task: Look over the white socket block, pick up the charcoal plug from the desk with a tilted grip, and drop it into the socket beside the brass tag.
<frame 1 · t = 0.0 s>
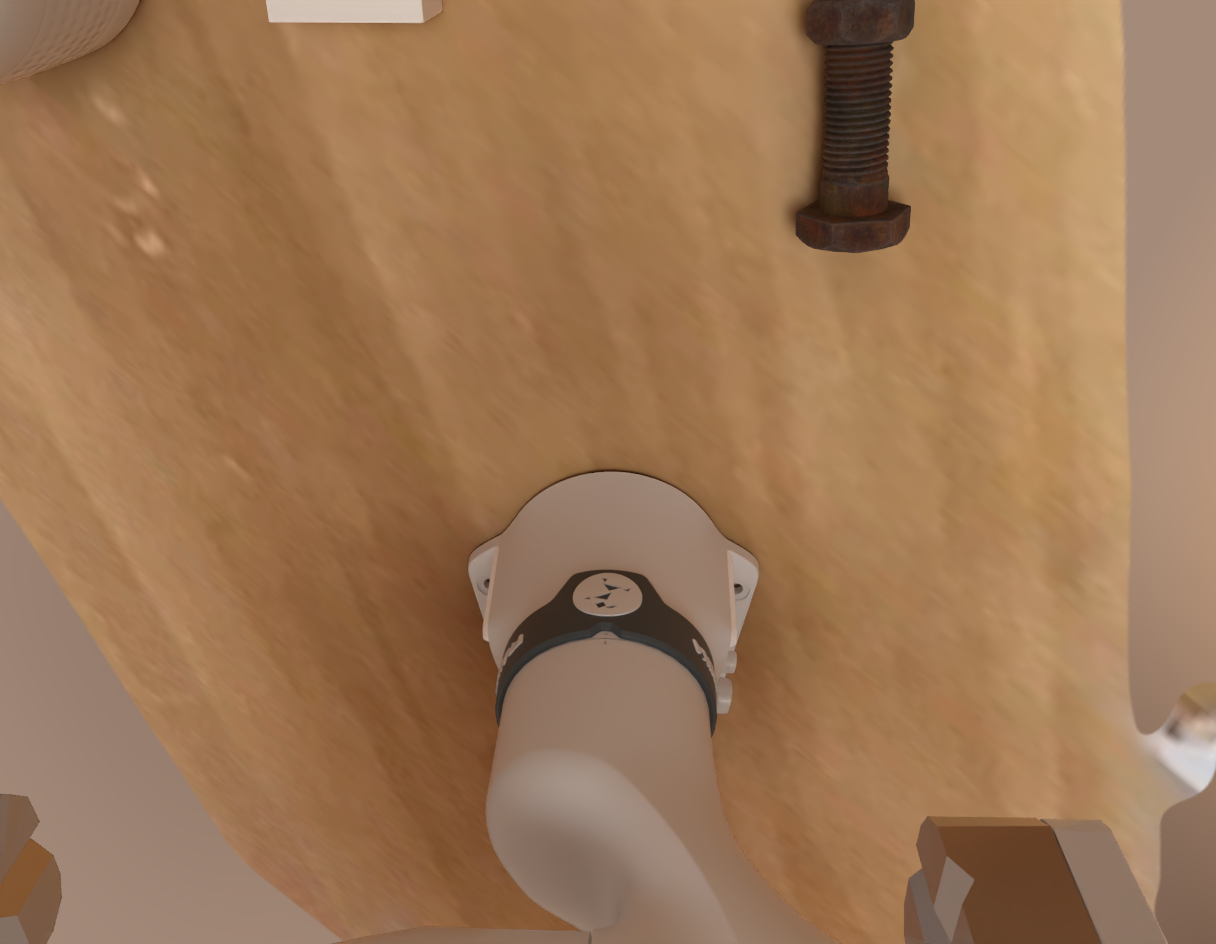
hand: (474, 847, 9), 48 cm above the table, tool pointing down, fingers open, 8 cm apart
bolt: (851, 77, 51), on the table
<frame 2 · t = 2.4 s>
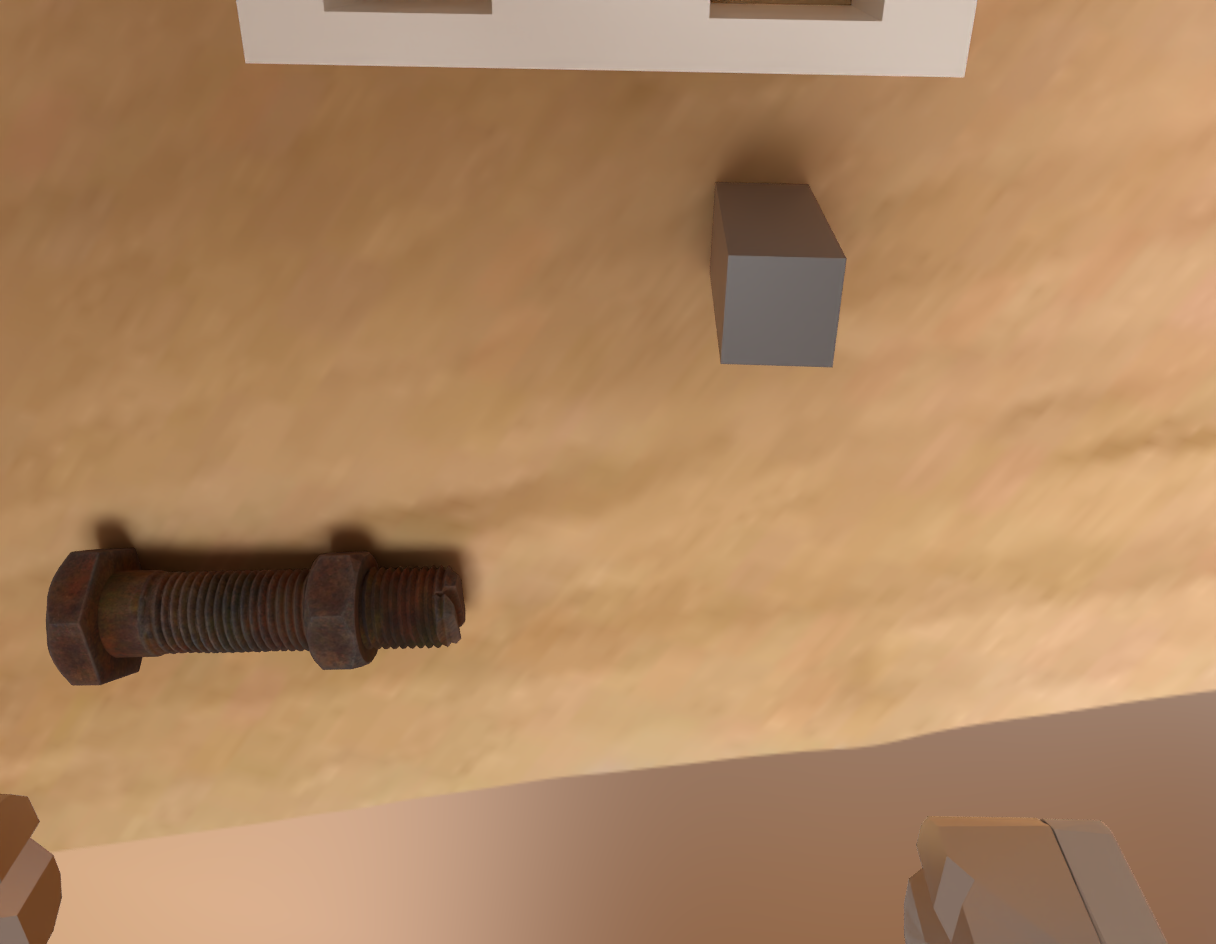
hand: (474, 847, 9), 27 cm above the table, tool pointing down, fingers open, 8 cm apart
bolt: (290, 576, 42), on the table
plug: (757, 229, 34), on the table
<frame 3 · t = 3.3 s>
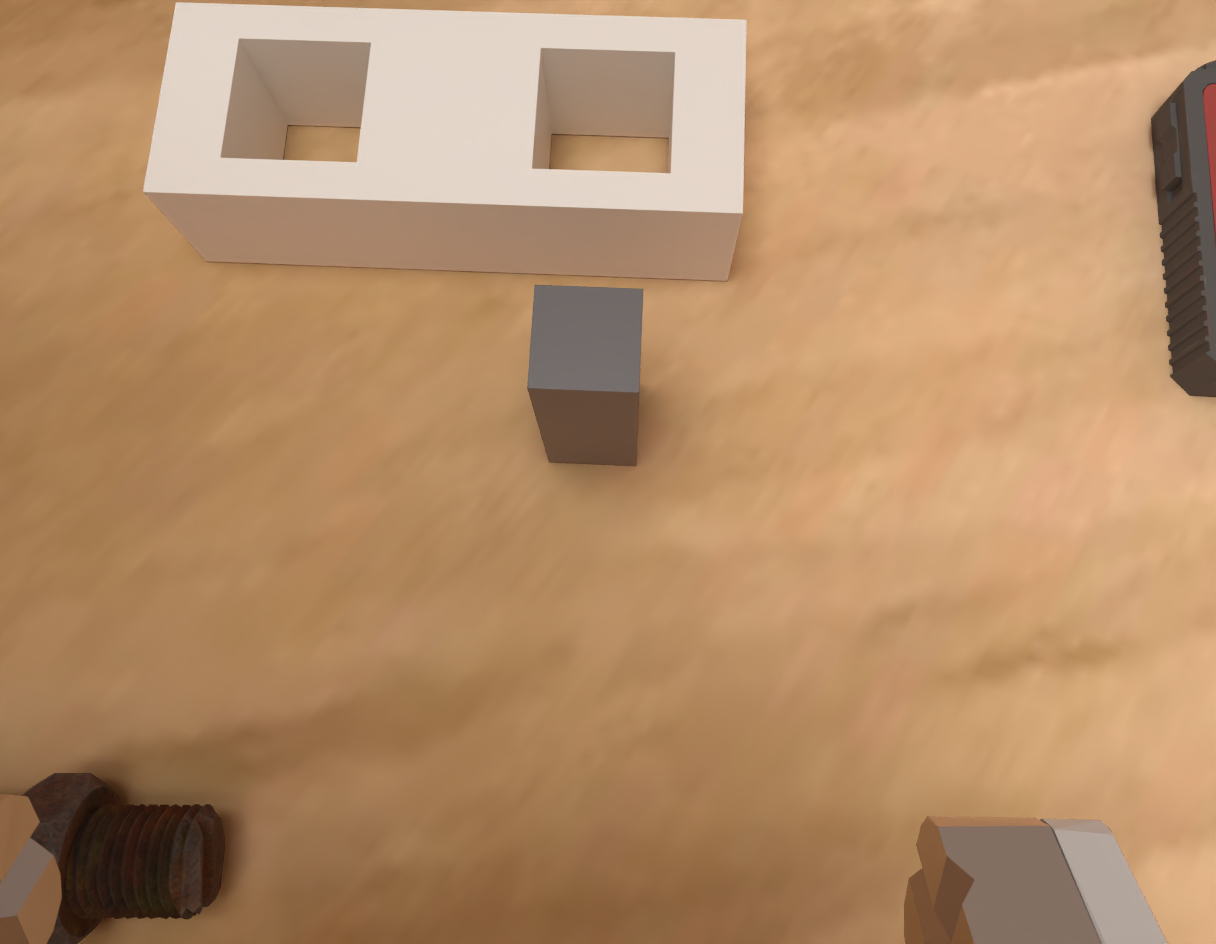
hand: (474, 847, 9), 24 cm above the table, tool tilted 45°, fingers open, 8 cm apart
bolt: (8, 853, 33), on the table
plug: (594, 422, 35), on the table
white socket block: (472, 184, 38), on the table
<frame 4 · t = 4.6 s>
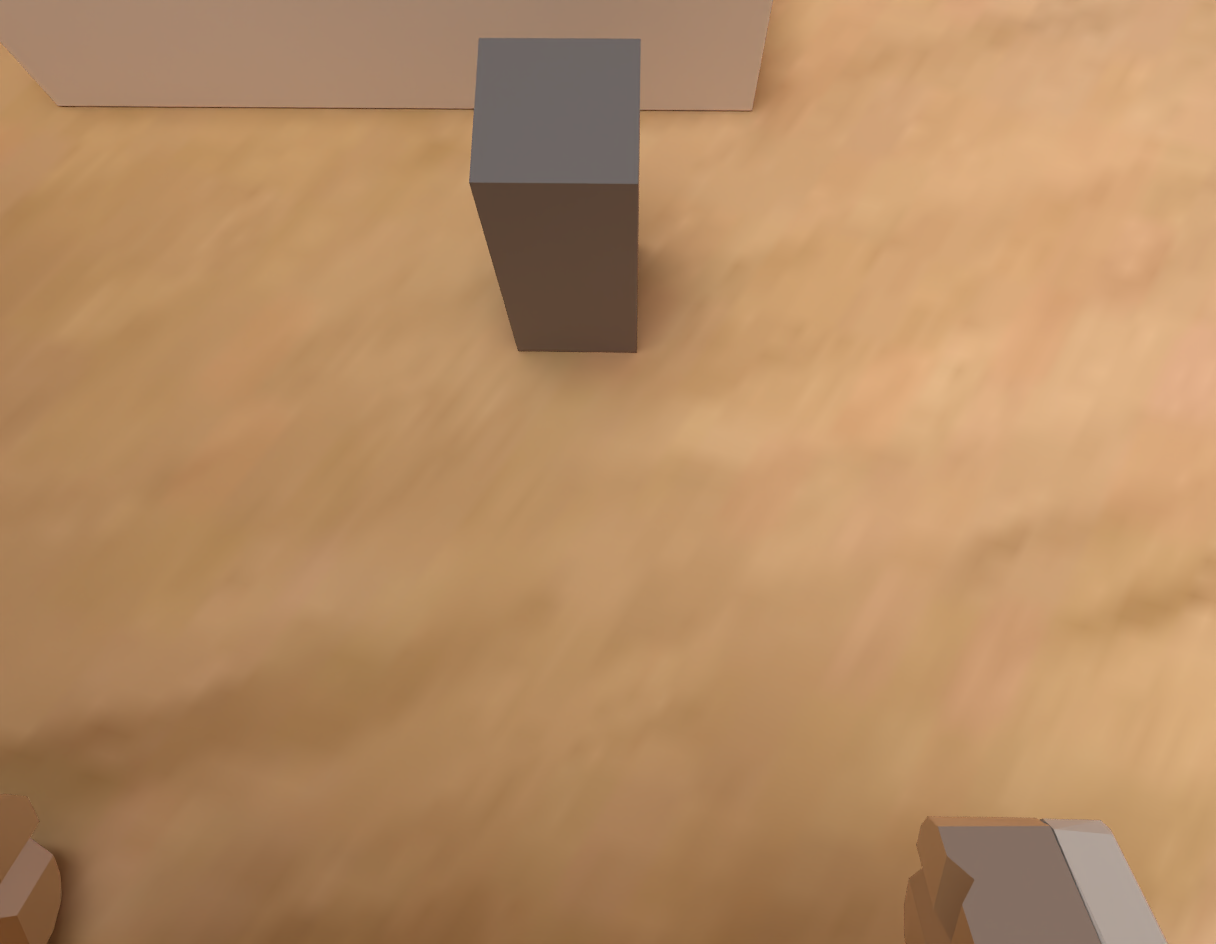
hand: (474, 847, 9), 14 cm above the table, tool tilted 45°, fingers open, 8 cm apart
plug: (579, 297, 26), on the table
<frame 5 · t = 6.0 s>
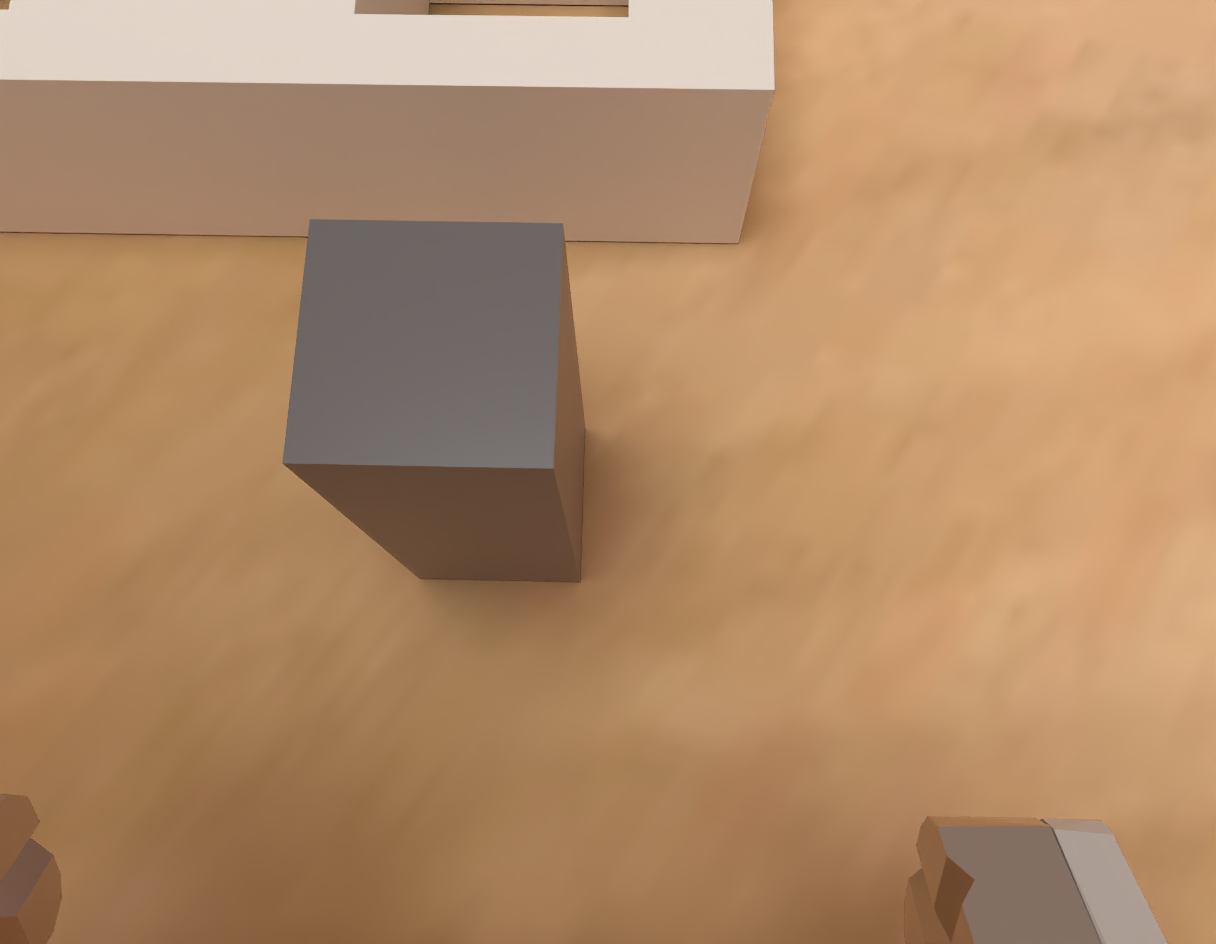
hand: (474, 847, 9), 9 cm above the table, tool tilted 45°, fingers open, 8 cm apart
plug: (504, 502, 19), on the table
white socket block: (291, 88, 22), on the table
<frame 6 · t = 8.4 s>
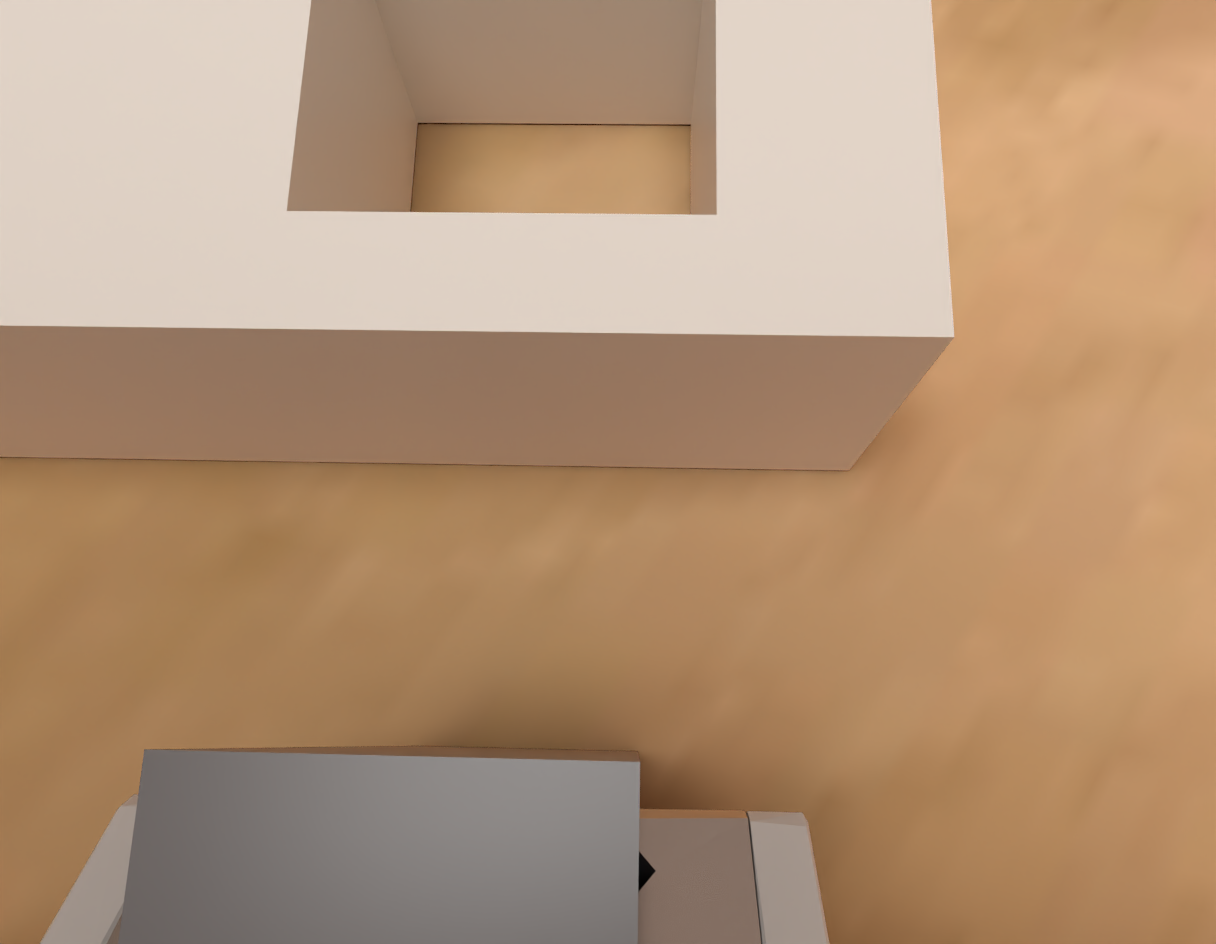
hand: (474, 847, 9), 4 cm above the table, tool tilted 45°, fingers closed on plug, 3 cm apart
plug: (522, 865, 13), on the table, touching gripper
white socket block: (229, 244, 16), on the table
when the fingers open (7 cm above the table, at t = 13.7 s): plug drops 2 cm, resting in white socket block.
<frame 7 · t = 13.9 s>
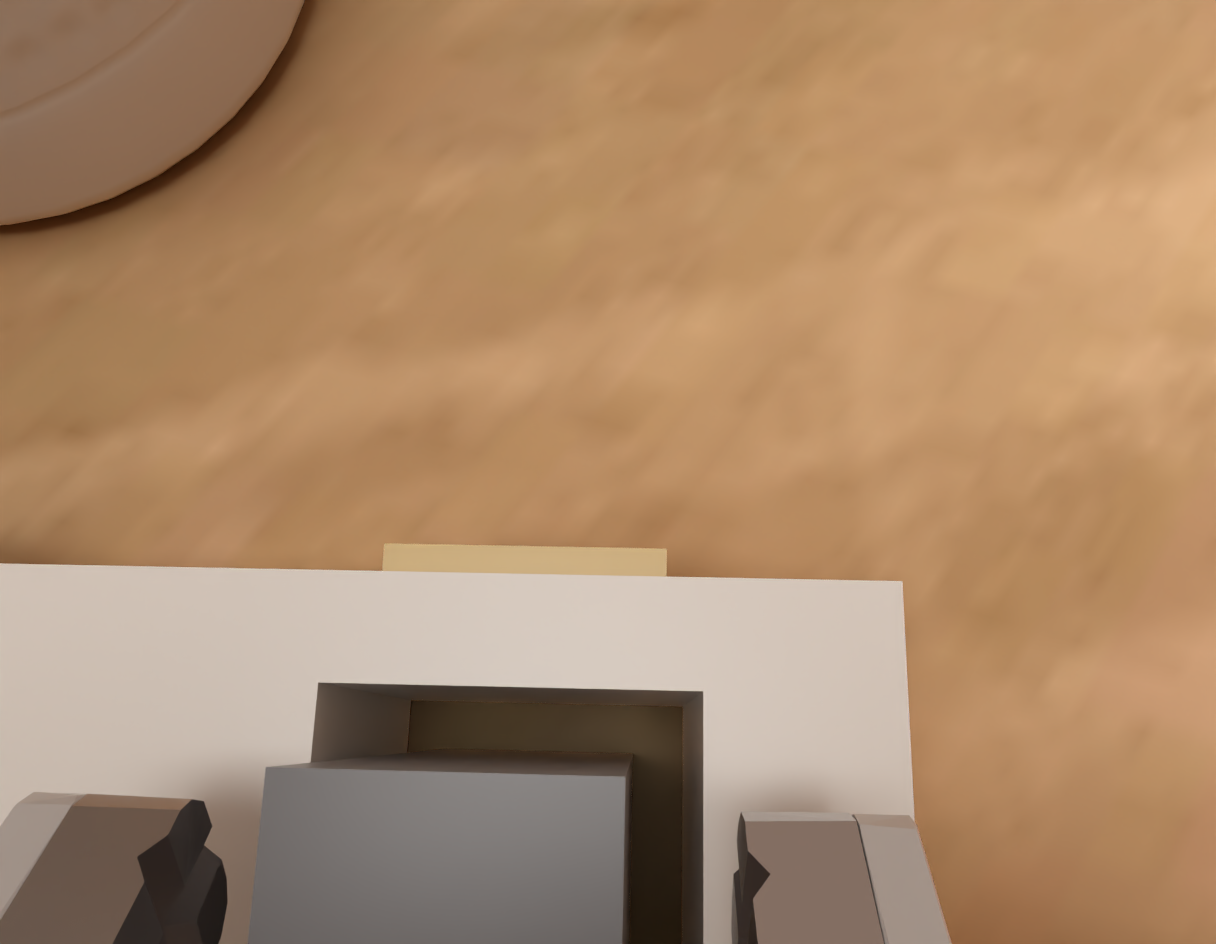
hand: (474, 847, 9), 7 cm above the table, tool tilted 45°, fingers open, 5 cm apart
plug: (534, 851, 16), resting in white socket block
white socket block: (223, 839, 16), on the table
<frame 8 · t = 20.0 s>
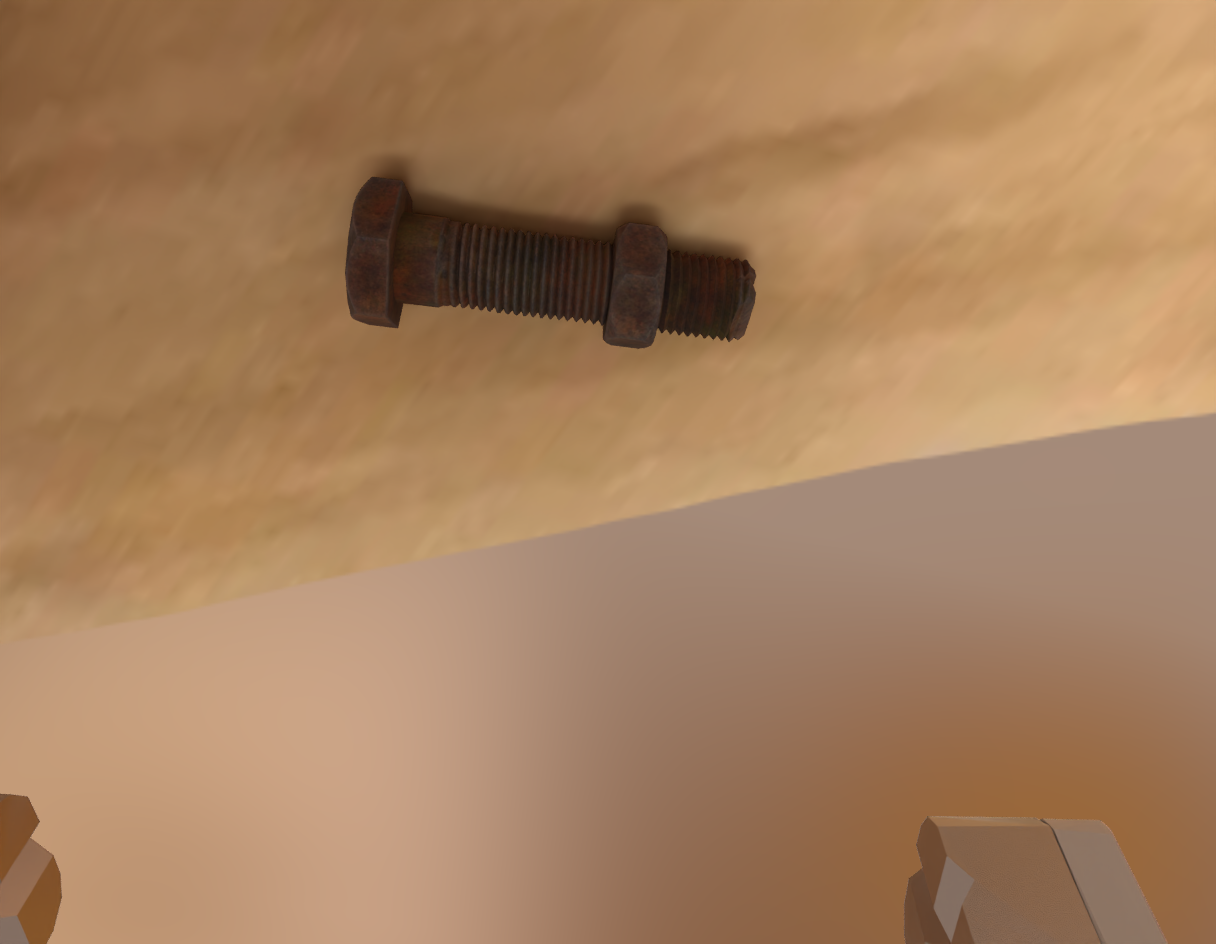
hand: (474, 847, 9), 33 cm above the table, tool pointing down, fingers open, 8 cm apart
bolt: (560, 259, 41), on the table
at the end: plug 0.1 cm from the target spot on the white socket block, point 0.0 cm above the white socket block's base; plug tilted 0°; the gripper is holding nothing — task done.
